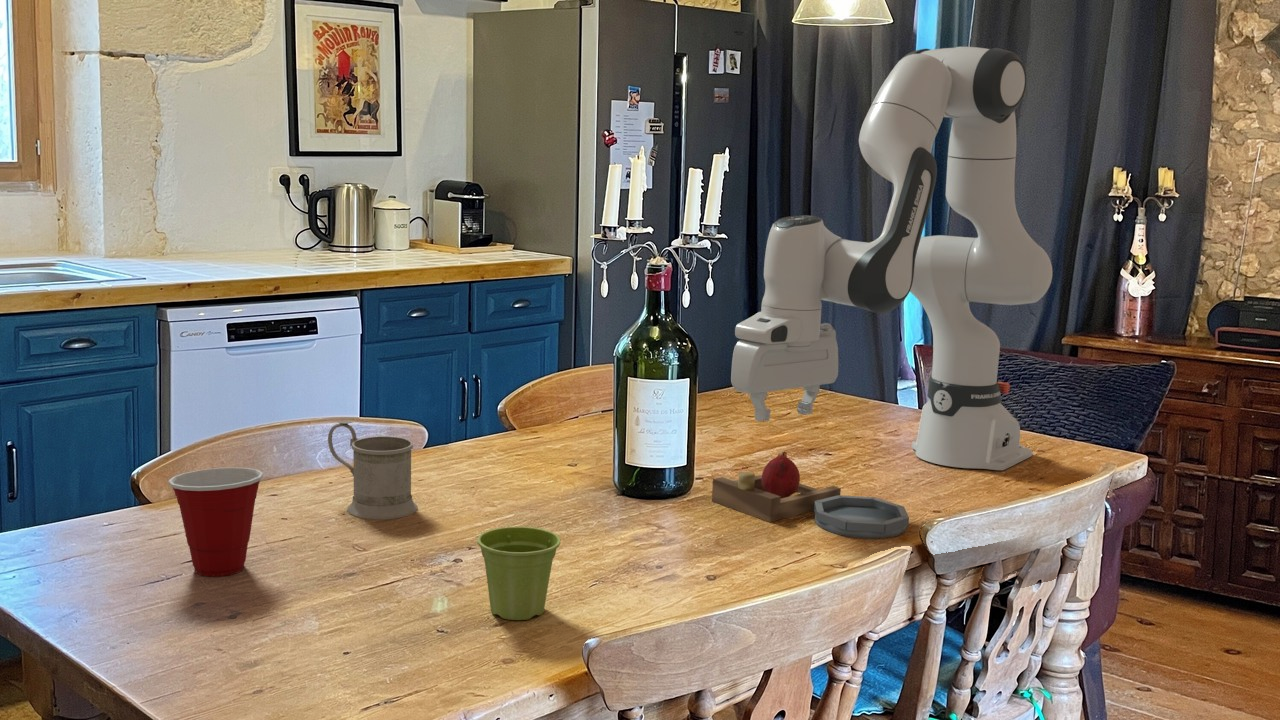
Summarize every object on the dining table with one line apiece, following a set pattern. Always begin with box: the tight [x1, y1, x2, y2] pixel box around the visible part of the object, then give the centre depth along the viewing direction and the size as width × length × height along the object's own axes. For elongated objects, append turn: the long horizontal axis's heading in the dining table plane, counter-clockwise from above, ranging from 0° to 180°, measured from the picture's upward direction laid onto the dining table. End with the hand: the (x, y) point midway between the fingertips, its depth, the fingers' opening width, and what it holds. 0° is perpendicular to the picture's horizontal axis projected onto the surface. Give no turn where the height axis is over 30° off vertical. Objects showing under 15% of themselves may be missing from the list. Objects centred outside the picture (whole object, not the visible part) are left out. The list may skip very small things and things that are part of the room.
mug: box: [327, 419, 418, 521], centre depth 174 cm, size 14×10×12 cm
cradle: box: [711, 471, 842, 523], centre depth 184 cm, size 16×12×6 cm
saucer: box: [813, 494, 910, 540], centre depth 176 cm, size 13×13×2 cm
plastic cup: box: [167, 467, 264, 577], centre depth 148 cm, size 11×11×12 cm
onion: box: [761, 450, 801, 498], centre depth 185 cm, size 6×6×8 cm
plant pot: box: [476, 526, 561, 621], centre depth 139 cm, size 9×9×9 cm
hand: (783, 417), depth 183 cm, fingers open, 8 cm apart
